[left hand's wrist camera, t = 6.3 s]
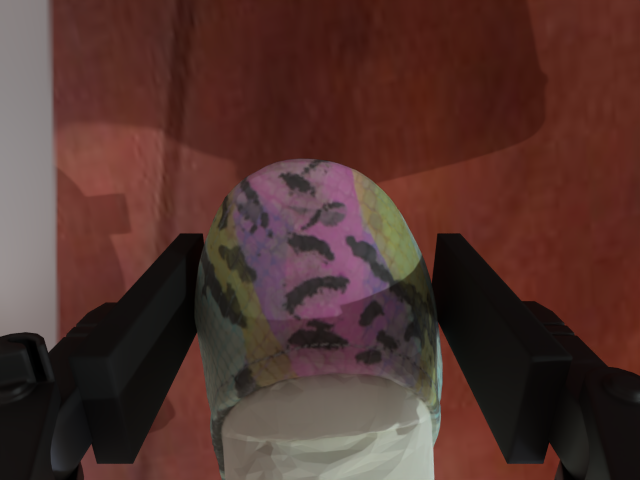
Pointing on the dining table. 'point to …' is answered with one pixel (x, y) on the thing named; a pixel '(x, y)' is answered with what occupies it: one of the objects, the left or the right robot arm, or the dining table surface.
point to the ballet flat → (317, 330)
